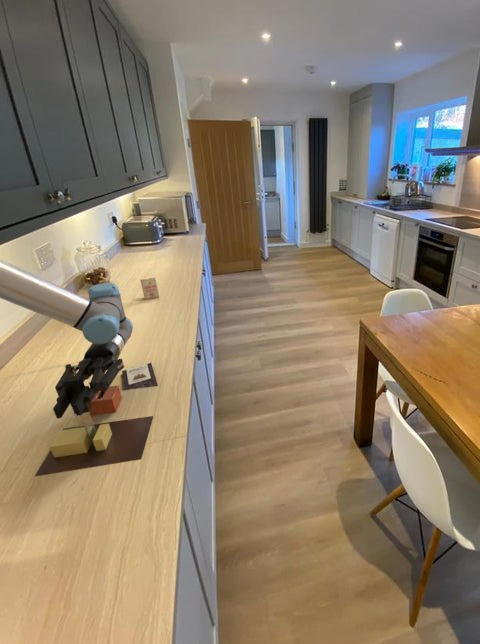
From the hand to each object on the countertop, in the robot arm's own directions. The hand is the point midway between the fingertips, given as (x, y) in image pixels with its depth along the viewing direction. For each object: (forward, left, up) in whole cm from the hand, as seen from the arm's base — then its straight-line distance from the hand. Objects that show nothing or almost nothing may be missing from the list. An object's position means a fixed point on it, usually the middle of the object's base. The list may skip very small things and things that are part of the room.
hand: (67, 411), depth 68 cm
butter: (-6, +4, -15) cm, 17 cm away
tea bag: (-38, +95, -17) cm, 104 cm away
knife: (-2, +5, -14) cm, 15 cm away
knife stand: (-8, +17, -17) cm, 25 cm away
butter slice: (0, +6, -15) cm, 16 cm away
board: (-1, +5, -17) cm, 18 cm away
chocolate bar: (-5, +29, -17) cm, 34 cm away
